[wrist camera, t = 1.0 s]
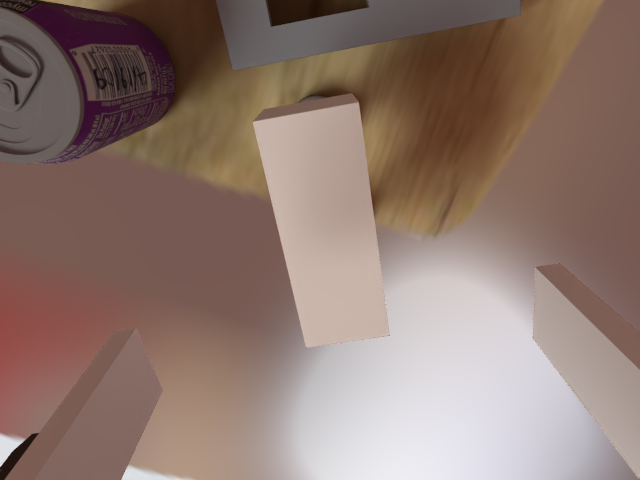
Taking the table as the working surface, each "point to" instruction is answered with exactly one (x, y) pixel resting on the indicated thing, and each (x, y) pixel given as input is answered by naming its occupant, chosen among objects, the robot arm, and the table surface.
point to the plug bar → (325, 216)
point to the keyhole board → (345, 26)
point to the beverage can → (76, 80)
